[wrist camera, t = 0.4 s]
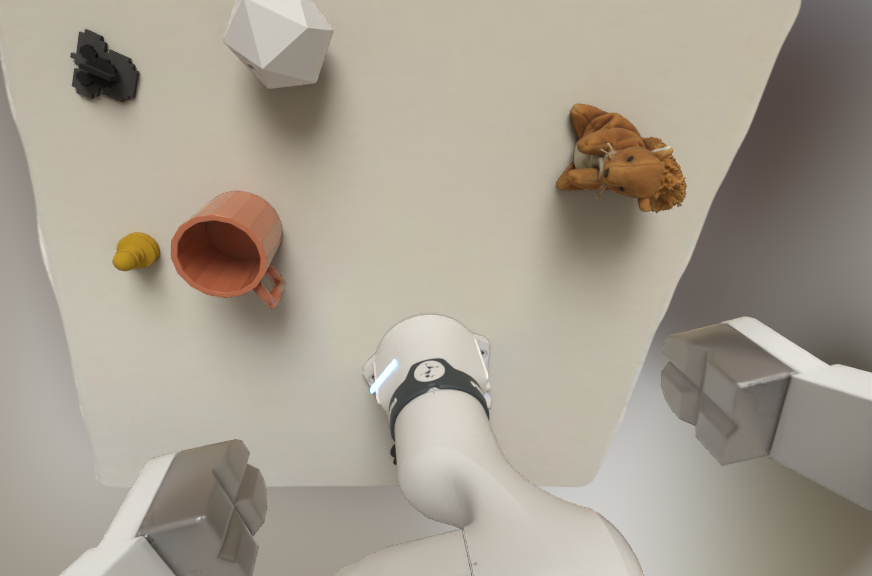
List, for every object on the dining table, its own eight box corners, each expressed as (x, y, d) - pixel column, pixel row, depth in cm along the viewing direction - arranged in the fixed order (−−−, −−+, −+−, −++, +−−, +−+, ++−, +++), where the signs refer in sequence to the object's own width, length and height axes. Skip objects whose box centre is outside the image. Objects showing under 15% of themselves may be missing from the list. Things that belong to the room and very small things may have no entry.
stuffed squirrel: (566, 100, 50) (627, 108, 38) (670, 123, 53) (755, 138, 41) (541, 185, 54) (589, 216, 43) (638, 202, 57) (708, 235, 46)
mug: (186, 216, 50) (149, 245, 41) (248, 176, 49) (223, 198, 40) (258, 295, 55) (239, 335, 47) (315, 261, 54) (306, 295, 46)
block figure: (119, 115, 42) (53, 89, 41) (131, 113, 44) (69, 88, 43) (130, 53, 40) (61, 22, 39) (142, 54, 42) (77, 24, 41)
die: (230, -14, 42) (188, 47, 37) (295, -66, 37) (257, -4, 32) (295, 62, 48) (266, 123, 43) (357, 25, 43) (333, 89, 38)
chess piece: (164, 242, 51) (145, 259, 46) (153, 269, 52) (133, 287, 47) (129, 226, 49) (105, 241, 45) (117, 253, 50) (93, 271, 46)
